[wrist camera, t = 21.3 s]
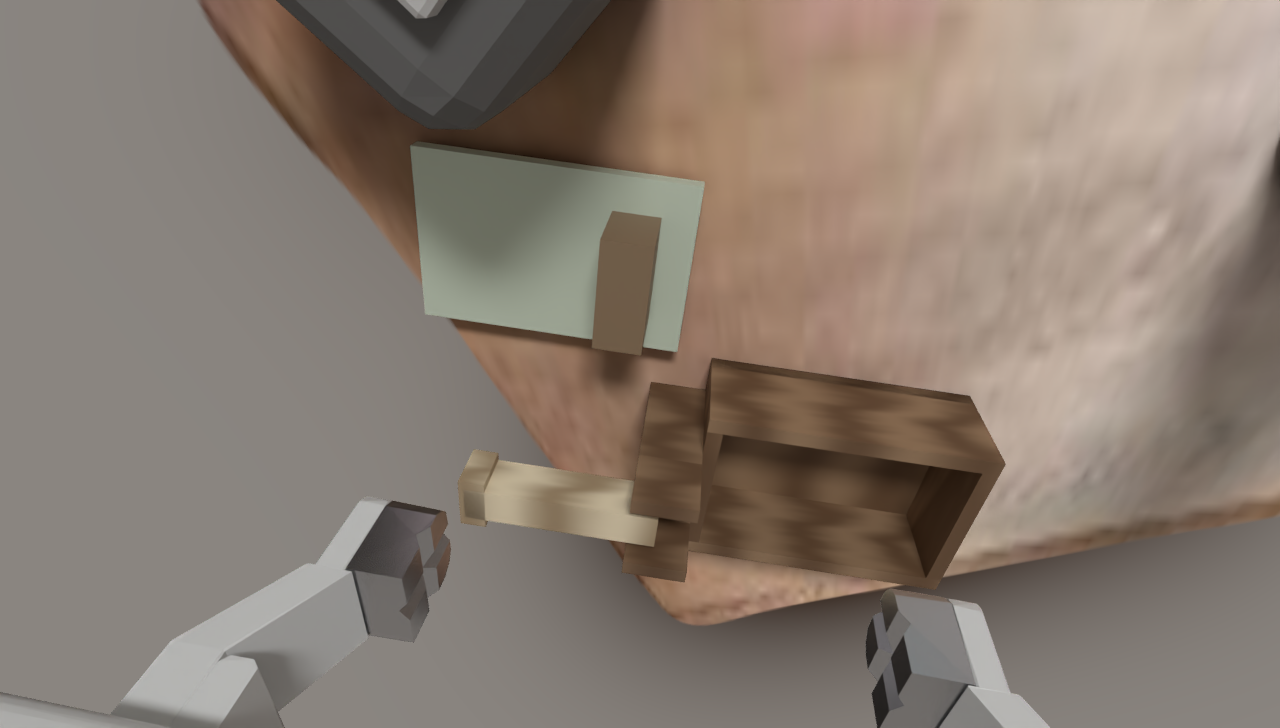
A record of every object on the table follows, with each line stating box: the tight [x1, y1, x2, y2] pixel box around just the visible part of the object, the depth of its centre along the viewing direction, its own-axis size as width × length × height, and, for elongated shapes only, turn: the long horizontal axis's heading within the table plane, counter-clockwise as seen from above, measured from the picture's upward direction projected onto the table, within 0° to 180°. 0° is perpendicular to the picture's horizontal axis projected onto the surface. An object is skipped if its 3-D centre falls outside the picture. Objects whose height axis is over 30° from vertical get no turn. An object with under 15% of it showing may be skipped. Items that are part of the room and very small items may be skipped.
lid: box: [410, 141, 705, 356], centre depth 40 cm, size 17×11×6 cm, turn 84°
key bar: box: [458, 449, 659, 547], centre depth 41 cm, size 12×4×3 cm, turn 84°
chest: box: [622, 358, 1006, 589], centre depth 44 cm, size 22×12×12 cm, turn 84°
